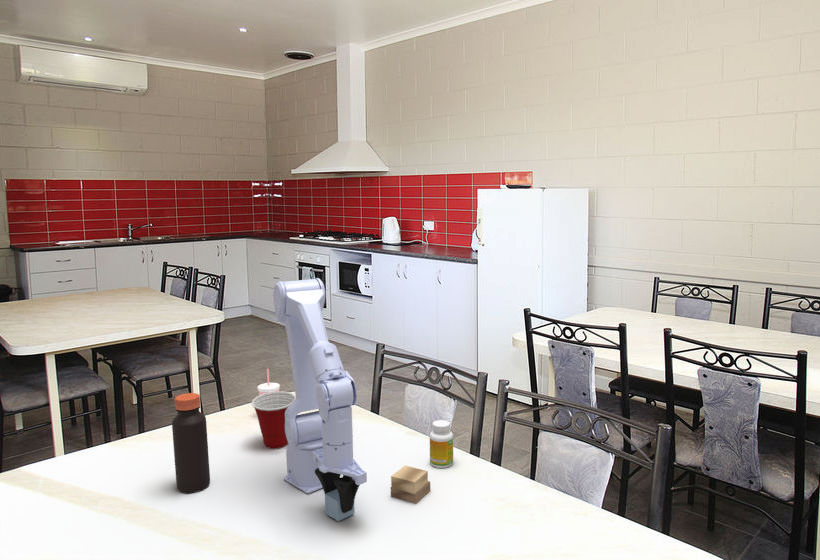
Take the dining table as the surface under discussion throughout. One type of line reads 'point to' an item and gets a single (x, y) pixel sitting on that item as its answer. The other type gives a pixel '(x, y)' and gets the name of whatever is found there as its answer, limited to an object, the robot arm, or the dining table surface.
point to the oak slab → (409, 479)
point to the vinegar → (190, 445)
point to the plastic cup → (273, 416)
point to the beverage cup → (268, 386)
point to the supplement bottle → (441, 444)
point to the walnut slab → (411, 494)
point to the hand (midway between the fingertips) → (339, 506)
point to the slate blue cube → (335, 506)
